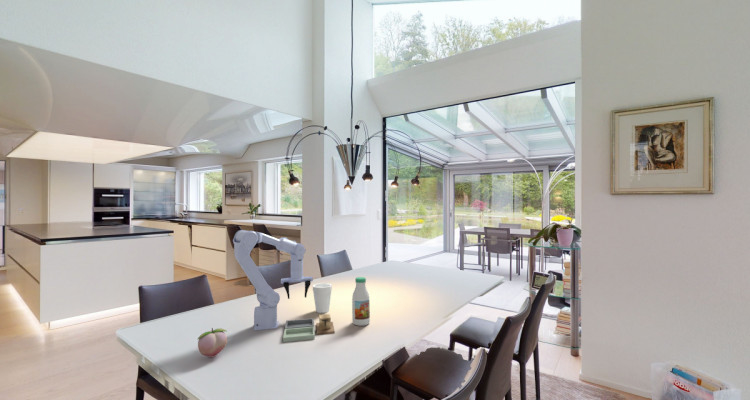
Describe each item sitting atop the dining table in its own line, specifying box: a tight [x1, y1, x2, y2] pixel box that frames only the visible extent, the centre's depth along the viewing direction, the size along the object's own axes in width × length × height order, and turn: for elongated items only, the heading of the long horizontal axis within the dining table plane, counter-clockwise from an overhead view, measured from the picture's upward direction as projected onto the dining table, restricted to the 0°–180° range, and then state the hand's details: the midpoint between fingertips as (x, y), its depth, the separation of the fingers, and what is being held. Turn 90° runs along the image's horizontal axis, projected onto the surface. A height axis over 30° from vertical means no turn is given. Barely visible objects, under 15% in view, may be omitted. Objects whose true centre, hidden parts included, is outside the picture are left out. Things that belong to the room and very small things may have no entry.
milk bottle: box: [351, 276, 371, 327], centre depth 141 cm, size 8×8×20 cm
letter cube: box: [318, 313, 332, 329], centre depth 134 cm, size 4×5×4 cm
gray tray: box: [284, 317, 315, 330], centre depth 137 cm, size 12×9×2 cm
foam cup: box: [312, 282, 333, 314], centre depth 157 cm, size 10×9×13 cm
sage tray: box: [282, 326, 316, 343], centre depth 127 cm, size 12×9×2 cm
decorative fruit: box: [197, 327, 228, 358], centre depth 111 cm, size 9×8×10 cm
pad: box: [316, 321, 336, 336], centre depth 134 cm, size 7×11×1 cm, turn 12°
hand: (297, 297), depth 149 cm, fingers open, 7 cm apart
